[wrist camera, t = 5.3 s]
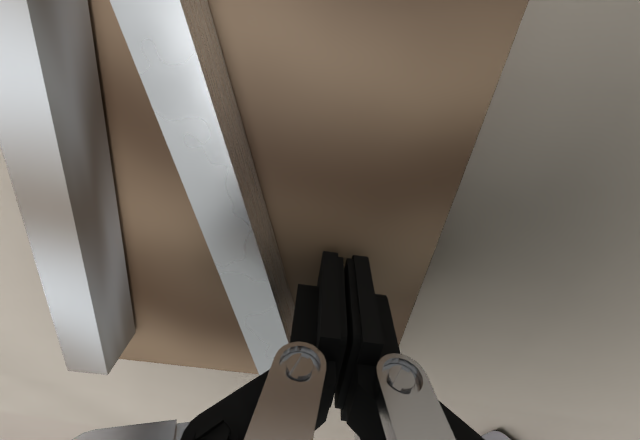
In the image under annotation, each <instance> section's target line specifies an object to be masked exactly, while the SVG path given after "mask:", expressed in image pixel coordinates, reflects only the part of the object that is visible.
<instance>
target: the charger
mask: <svg viewBox="0 0 640 440" xmlns="http://www.w3.org/2000/svg"><path fill="white" fill-rule="evenodd" d="M481 437H482V438H484V439H485V440H511V439H510V438H509V437H507V436H506V435H505V434H503V433H501V432H499V431H491V432H489V433H487V434H484V435H482V436H481Z"/></svg>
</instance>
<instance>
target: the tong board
mask: <svg viewBox="0 0 640 440" xmlns="http://www.w3.org/2000/svg"><path fill="white" fill-rule="evenodd" d="M207 1H208V5H209V9H210V12H211V16H212V19H213V23H214V26H215V30H216V33H217V37H218V40H219V44H220V47H221V51H222V54H223V58H224V61H225V65H226V68H227V72H228V75H229V79H230V82H231V86H232V89H233V93H234V96H235V100H236V103H237V107H238V110H239V114H240V117H241V121H242V124H243V128H244V131H245V135H246V138H247V142H248V145H249V149H250V152H251V156H252V159H253V163H254V166H255V170H256V173H257V177H258V180H259V184H260V187H261V191H262V194H263V198H264V201H265V205H266V209H267V212H268V216H269V219H270V223H271V226H272V230H273V233H274V237H275V240H276V244H277V247H278V251H279V254H280V258H281V261H282V265H283V268H284V272H285V275H286V279H287V282H288V286H289V289H290V293H291V296H292V300H293V303H294V307H295V302H296V295H297V288H298V284H304V285H312V286H317V282H318V276H319V270H320V265H321V259H322V253H323V251H328V252H336V253H338V257H343V261H344V267H345V263H346V259H347V258H351V259H352V256H353V255H358V256H366V257H368V258H369V263H370V269H371V274H372V280H373V286H374V291H375V294H381V295H386V296H387V298H388V302H389V306H390V310H391V315H392V319H393V324H394V328H395V333H396V337H397V342H398V346H399V344H400V341H401V338H402V336H403V333H404V330H405V328H406V325H407V322H408V320H409V317H410V314H411V312H412V309H413V307H414V304H415V301H416V299H417V296H418V293H419V291H420V288H421V285H422V283H423V280H424V277H425V275H426V272H427V269H428V267H429V264H430V261H431V259H432V256H433V253H434V251H435V248H436V246H437V243H438V240H439V238H440V235H441V232H442V230H443V227H444V224H445V222H446V219H447V216H448V214H449V211H450V208H451V206H452V203H453V200H454V198H455V195H456V192H457V190H458V187H459V184H460V182H461V179H462V177H463V174H464V171H465V169H466V166H467V163H468V161H469V158H470V155H471V153H472V150H473V147H474V145H475V142H476V139H477V137H478V134H479V131H480V129H481V126H482V123H483V121H484V118H485V116H486V113H487V110H488V108H489V105H490V102H491V100H492V97H493V94H494V92H495V89H496V86H497V84H498V81H499V78H500V76H501V73H502V70H503V68H504V65H505V62H506V60H507V57H508V54H509V52H510V49H511V47H512V44H513V41H514V39H515V36H516V33H517V31H518V28H519V25H520V23H521V20H522V17H523V15H524V12H525V9H526V7H527V4H528V1H529V0H207ZM0 145H1V149H2V152H3V156H4V159H5V162H6V166H7V169H8V172H9V176H10V179H11V182H12V186H13V189H14V192H15V196H16V199H17V202H18V206H19V209H20V212H21V216H22V219H23V223H24V226H25V229H26V233H27V236H28V239H29V243H30V246H31V249H32V253H33V256H34V259H35V263H36V266H37V269H38V273H39V276H40V279H41V283H42V286H43V290H44V293H45V296H46V300H47V303H48V306H49V310H50V313H51V316H52V320H53V323H54V326H55V330H56V333H57V336H58V340H59V343H60V346H61V350H62V353H63V356H64V360H65V363H66V367H67V370H68V371H75V372H84V373H93V374H103V375H108V374H109V372H110V371H111V369H112V368H113V366H114V365H115V363H116V362H117V360H118V359H127V360H136V361H145V362H154V363H163V364H172V365H180V366H189V367H198V368H207V369H216V370H225V371H234V372H243V373H252V374H259V373H258V371H257V368H256V366H255V363H254V361H253V358H252V356H251V353H250V351H249V348H248V346H247V343H246V341H245V338H244V336H243V333H242V331H241V328H240V326H239V323H238V321H237V318H236V315H235V313H234V310H233V308H232V305H231V303H230V300H229V298H228V295H227V293H226V290H225V288H224V285H223V283H222V280H221V278H220V275H219V273H218V270H217V268H216V265H215V263H214V260H213V258H212V255H211V253H210V250H209V248H208V245H207V243H206V240H205V238H204V235H203V233H202V230H201V228H200V225H199V223H198V220H197V218H196V215H195V213H194V210H193V208H192V205H191V203H190V200H189V198H188V195H187V193H186V190H185V188H184V185H183V183H182V180H181V178H180V175H179V173H178V170H177V168H176V165H175V163H174V160H173V158H172V155H171V153H170V150H169V148H168V145H167V143H166V140H165V138H164V135H163V133H162V130H161V128H160V125H159V123H158V120H157V118H156V115H155V113H154V110H153V108H152V105H151V103H150V100H149V98H148V95H147V93H146V90H145V88H144V85H143V83H142V80H141V78H140V75H139V73H138V70H137V68H136V65H135V63H134V60H133V58H132V55H131V53H130V50H129V48H128V45H127V43H126V40H125V38H124V35H123V33H122V30H121V28H120V25H119V23H118V20H117V18H116V15H115V13H114V10H113V8H112V5H111V3H110V0H0Z"/></svg>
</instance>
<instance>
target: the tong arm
mask: <svg viewBox="0 0 640 440" xmlns="http://www.w3.org/2000/svg"><path fill="white" fill-rule="evenodd" d="M110 3H111V5H112V8H113V10H114V13H115V15H116V18H117V20H118V23H119V25H120V28H121V30H122V33H123V35H124V38H125V40H126V43H127V45H128V48H129V50H130V53H131V55H132V58H133V60H134V63H135V65H136V68H137V70H138V73H139V75H140V78H141V80H142V83H143V85H144V88H145V90H146V93H147V95H148V98H149V100H150V103H151V105H152V108H153V110H154V113H155V115H156V118H157V120H158V123H159V125H160V128H161V130H162V133H163V135H164V138H165V140H166V143H167V145H168V148H169V150H170V153H171V155H172V158H173V160H174V163H175V165H176V168H177V170H178V173H179V175H180V178H181V180H182V183H183V185H184V188H185V190H186V193H187V195H188V198H189V200H190V203H191V205H192V208H193V210H194V213H195V215H196V218H197V220H198V223H199V225H200V228H201V230H202V233H203V235H204V238H205V240H206V243H207V245H208V248H209V250H210V253H211V255H212V258H213V260H214V263H215V265H216V268H217V270H218V273H219V275H220V278H221V280H222V283H223V285H224V288H225V290H226V293H227V295H228V298H229V300H230V303H231V305H232V308H233V310H234V313H235V315H236V318H237V321H238V323H239V326H240V328H241V331H242V333H243V336H244V338H245V341H246V343H247V346H248V348H249V351H250V353H251V356H252V358H253V361H254V363H255V366H256V368H257V371H258V373H259V375H261V374H263V373H264V372H266V371H268V370H269V369H270V368H271V365H272V362H273V360H274V357H275V355H276V353H277V352H278V350H279V349H280V348H281V347H283V346H284V345H286V344H288V343H290V338H291V331H292V323H293V316H294V309H295V307H294V303H293V300H292V296H291V293H290V289H289V286H288V282H287V279H286V275H285V272H284V268H283V265H282V261H281V258H280V254H279V251H278V247H277V244H276V240H275V237H274V233H273V230H272V226H271V223H270V219H269V216H268V212H267V209H266V205H265V201H264V198H263V194H262V191H261V187H260V184H259V180H258V177H257V173H256V170H255V166H254V163H253V159H252V156H251V152H250V149H249V145H248V142H247V138H246V135H245V131H244V128H243V124H242V121H241V117H240V114H239V110H238V107H237V103H236V100H235V96H234V93H233V89H232V86H231V82H230V79H229V75H228V72H227V68H226V65H225V61H224V58H223V54H222V51H221V47H220V44H219V40H218V37H217V33H216V30H215V26H214V23H213V19H212V16H211V12H210V9H209V5H208V1H207V0H110Z"/></svg>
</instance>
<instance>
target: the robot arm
mask: <svg viewBox="0 0 640 440" xmlns="http://www.w3.org/2000/svg"><path fill="white" fill-rule="evenodd" d="M334 393H335V408H339V409H341V420H342V421H347V424H348V425H349V426H350V428H351V429H352V430H353V431H354V432H355V435H354V437H355V440H485V439H484V438H482V437H481V436H480V435H479V434H478V433H476V432H475V431H474V430H473V429H472V428H471V427H469V426H468V425H467V424H466V423H465V422H463V421H462V420H461V419H460V418H459V417H458V416H456V415H455V414H454V413H453V412H452V411H450V410H449V409H448V408H447V407H446V406H444V405H443V404H442V403H441V402H440V401H439V400H438V399H437V396H436V394H435V392H434V390H433V388H432V385H431V383H430V381H429V379H428V376H427V374H426V373H425V371H424V369H423V368H422V367H421V366H420V365H419V364H418V363H417V362H416V361H415V360H413V359H411V358H410V357H408V356H405V355H402V354H400V350H399V346H398V342H397V337H396V333H395V328H394V324H393V319H392V315H391V310H390V306H389V302H388V298H387V296H386V295H381V294H375V291H374V286H373V280H372V274H371V269H370V263H369V258H368V257H366V256H358V255H353V256H352V259H351V258H347V259H346V263H345V267H344V261H343V257H338V253H336V252H328V251H323V253H322V259H321V265H320V270H319V276H318V282H317V286H312V285H304V284H298V288H297V295H296V302H295V309H294V316H293V323H292V331H291V338H290V343H288V344H286V345H284V346H283V347H281V348H280V349H279V350H278V352H277V353H276V355H275V357H274V360H273V362H272V365H271V368H270V369H269V370H268V371H266V372H264V373H263V374H261V375H260V376H258V377H257V378H255V379H254V380H252V381H250V382H249V383H247V384H246V385H244V386H243V387H241V388H240V389H238V390H236V391H235V392H233V393H232V394H230V395H229V396H227V397H226V398H224V399H223V400H221V401H219V402H218V403H216V404H215V405H213V406H212V407H210V408H209V409H207V410H205V411H204V412H202V413H201V414H199V415H198V416H197V417H196V418H194V419H193V420H192V421H191V422H186V423H178V424H177V420H169V421H161V422H153V423H145V424H137V425H128V426H120V427H112V428H104V429H95V430H92V431H88V432H85V433H82V434H81V435H79V436H77V437H75V438H74V439H72V440H313V436H314V431H315V430H316V429H318V428H319V427H320V426H321V425H322V424H323V423H324V422H325V421H326V418H327V414H328V410H329V407H331V404H332V401H333V397H334Z"/></svg>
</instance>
